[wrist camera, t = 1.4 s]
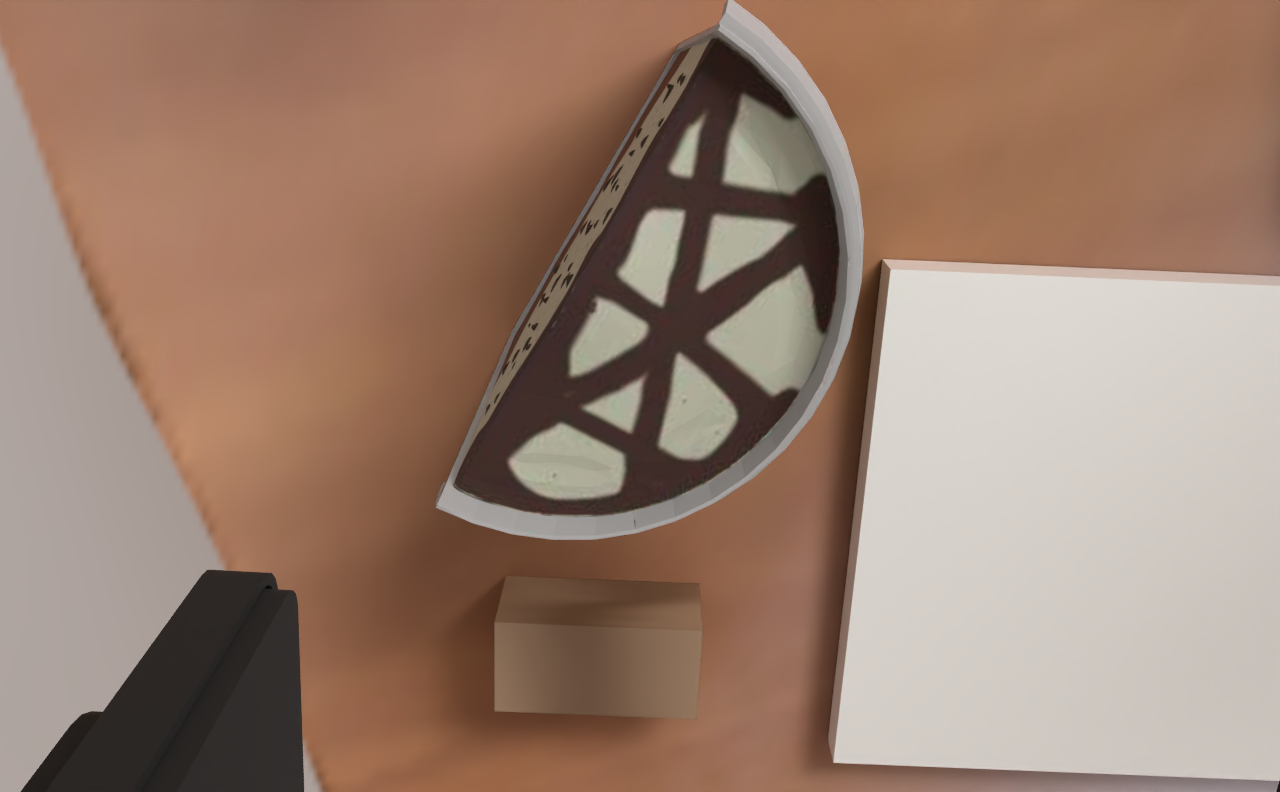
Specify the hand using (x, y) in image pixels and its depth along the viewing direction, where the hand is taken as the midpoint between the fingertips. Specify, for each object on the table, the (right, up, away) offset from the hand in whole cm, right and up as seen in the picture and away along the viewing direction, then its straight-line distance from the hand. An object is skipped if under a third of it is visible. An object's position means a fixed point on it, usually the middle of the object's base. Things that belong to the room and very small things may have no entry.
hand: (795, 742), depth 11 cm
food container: (0, +7, +22) cm, 24 cm away
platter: (+14, -1, +25) cm, 29 cm away
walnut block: (-3, -4, +26) cm, 27 cm away
